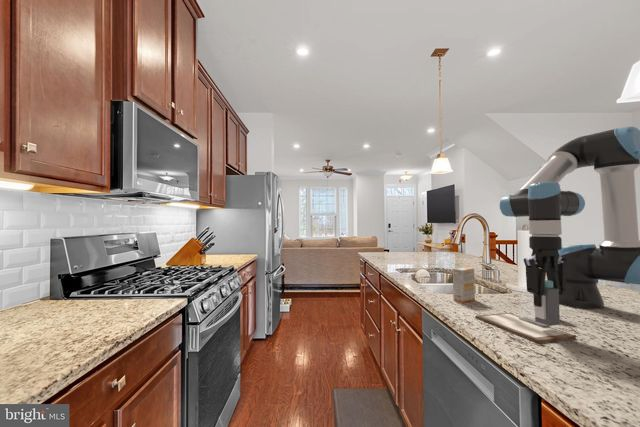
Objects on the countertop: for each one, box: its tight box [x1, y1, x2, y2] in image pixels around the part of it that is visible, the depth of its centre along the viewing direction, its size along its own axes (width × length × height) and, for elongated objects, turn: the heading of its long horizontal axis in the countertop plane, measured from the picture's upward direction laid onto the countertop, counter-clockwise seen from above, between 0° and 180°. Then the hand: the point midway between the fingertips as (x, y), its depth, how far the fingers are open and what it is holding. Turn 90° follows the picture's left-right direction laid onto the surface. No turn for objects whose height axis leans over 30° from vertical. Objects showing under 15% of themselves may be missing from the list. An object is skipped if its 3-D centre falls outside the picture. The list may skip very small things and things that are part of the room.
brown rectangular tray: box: [475, 312, 577, 344], centre depth 91 cm, size 13×22×1 cm, turn 14°
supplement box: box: [452, 266, 476, 303], centre depth 124 cm, size 8×5×13 cm, turn 122°
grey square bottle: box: [534, 279, 561, 327], centre depth 86 cm, size 4×4×12 cm
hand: (547, 317), depth 86 cm, fingers closed on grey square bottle, 4 cm apart
